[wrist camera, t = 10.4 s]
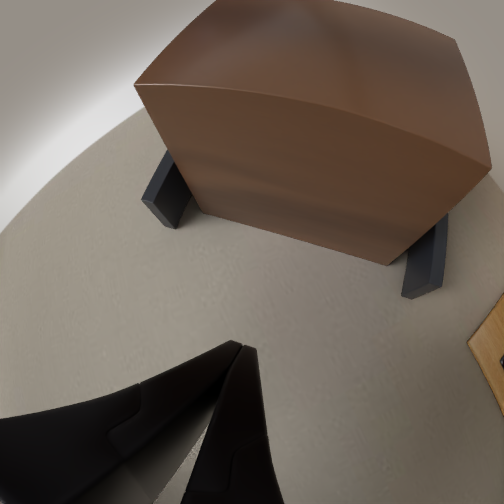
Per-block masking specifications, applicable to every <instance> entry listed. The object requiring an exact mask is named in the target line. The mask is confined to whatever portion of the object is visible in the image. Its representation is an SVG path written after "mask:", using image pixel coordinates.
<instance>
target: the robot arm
mask: <svg viewBox="0 0 504 504" xmlns="http://www.w3.org/2000/svg"><path fill="white" fill-rule="evenodd" d="M209 422H210V423H209ZM208 424H209V426H208V429H207V431H206V434H205V437H204V440H203V443H202V446H201V448H200V451H199V454H198V457H197V460H196V462H195V465H194V468H193V471H192V473H191V476H190V479H189V482H188V484H187V487H186V490H185V491H186V492H185V493H184V495H183V498H182V501H181V503H180V504H284V501H283V498H282V495H281V492H280V488H279V485H278V482H277V479H276V475H275V471H274V467H273V463H272V458H271V452H270V446H269V439H268V435H267V426H266V419H265V411H264V403H263V396H262V388H261V380H260V372H259V364H258V356H257V350H256V348H253V347H250V346H247V345H244V346H243V345H242V344H241V343H238V342H235V341H233V340H229V341H227V342H225V343H223V344H221V345H219V346H217V347H215V348H213V349H211V350H209V351H207V352H205V353H203V354H201V355H199V356H197V357H195V358H193V359H191V360H189V361H187V362H184V363H182V364H180V365H178V366H176V367H174V368H172V369H169V370H167V371H165V372H163V373H161V374H158V375H156V376H154V377H152V378H149V379H147V380H145V381H143V382H141V383H140V384H139V383H137V384H135V385H132V386H130V387H128V388H125V389H122V390H120V391H117V392H115V393H112V394H109V395H106V396H103V397H99V398H96V399H92V400H89V401H85V402H81V403H77V404H73V405H69V406H64V407H60V408H56V409H51V410H46V411H42V412H37V413H32V414H26V415H21V416H15V417H9V418H3V419H0V504H152V503H153V502H154V501H155V499H156V498H157V497H158V495H159V494H160V493H161V491H162V490H163V489H164V487H165V486H166V485H167V483H168V482H169V480H170V479H171V478H172V476H173V475H174V473H175V472H176V471H177V469H178V468H179V466H180V465H181V464H182V462H183V461H184V459H185V458H186V456H187V455H188V454H189V452H190V451H191V449H192V448H193V446H194V445H195V443H196V442H197V440H198V439H199V437H200V436H201V434H202V433H203V431H204V430H205V428H206V427H207V425H208Z"/></svg>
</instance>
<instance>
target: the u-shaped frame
mask: <svg viewBox="0 0 504 504" xmlns="http://www.w3.org/2000/svg"><path fill="white" fill-rule="evenodd" d="M191 194H192V192H191V191H190V189H189V187H188V185H187V183H186V182H185V180H184V178H183V176H182V174H181V173H180V171H179V169H178V167H177V165H176V164H175V162H174V160H173V158H172V156H171V154H170V153H169V151H168V149H167V151H166V153H165V155H164V157H163V158H162V160H161V162H160V164H159V166H158V167H157V169H156V171H155V173H154V175H153V177H152V179H151V181H150V183H149V185H148V187H147V189H146V190H145V192H144V194H143V196H142V199H141V200H142V202H143V203H144V204H145V205H146V206H147V207H148V208H149V209H150V210H151V212H152V213H153V214H154V215H155V216H156V217H157V218H158V219H159V220H160V222H161V223H162V224H163V225H164V226H166V227H169V228H172V229H176V227H177V225H178V223H179V220H180V218H181V216H182V214H183V211H184V209H185V207H186V205H187V202H188V200H189V198H190V196H191ZM447 231H448V213H447V214H446V215H445V216H444V217H443V218H442V219H441V220H439V221H438V222H437V223H436V224H435V225H434V226H433V227H432V228H431V229H429V230H428V231H427V232H426V233H425V234H424V235H423V236H422V237H420V238H419V239H418V240H417V241H416V242H415V243H414V244H412V245H411V246H410V247H409V253H408V259H407V266H406V272H405V277H404V283H403V288H402V293H401V296H402V297H406V298H409V299H414V298H417V297H419V296H421V295H424V294H426V293H429V292H431V291H433V290H436V289H438V288H440V287H442V284H443V276H444V268H445V258H446V246H447Z"/></svg>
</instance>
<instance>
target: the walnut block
mask: <svg viewBox="0 0 504 504" xmlns="http://www.w3.org/2000/svg"><path fill="white" fill-rule="evenodd" d="M134 87H135V89H136V91H137V93H138V95H139V96H140V98H141V100H142V102H143V104H144V106H145V108H146V110H147V112H148V114H149V115H150V117H151V119H152V121H153V123H154V125H155V127H156V129H157V130H158V132H159V134H160V136H161V138H162V140H163V142H164V143H165V145H166V147H167V149H168V151H169V153H170V154H171V156H172V158H173V160H174V162H175V164H176V165H177V167H178V169H179V171H180V173H181V174H182V176H183V178H184V180H185V182H186V183H187V185H188V187H189V189H190V191H191V192H192V194H193V196H194V198H195V200H196V201H197V203H198V205H199V207H200V209H201V210H202V212H203V213H204V214H208V215H212V216H216V217H219V218H223V219H227V220H230V221H234V222H238V223H241V224H245V225H249V226H252V227H256V228H259V229H263V230H267V231H270V232H274V233H277V234H281V235H284V236H288V237H291V238H295V239H298V240H302V241H305V242H309V243H312V244H315V245H319V246H322V247H326V248H329V249H332V250H336V251H339V252H343V253H346V254H349V255H353V256H356V257H359V258H362V259H366V260H369V261H372V262H376V263H379V264H382V265H385V266H387V265H388V264H390V263H391V262H392V261H393V260H395V259H396V258H397V257H398V256H399V255H401V254H402V253H403V252H404V251H405V250H407V249H408V248H409V247H410V246H411V245H412V244H414V243H415V242H416V241H417V240H418V239H419V238H420V237H422V236H423V235H424V234H425V233H426V232H427V231H428V230H429V229H431V228H432V227H433V226H434V225H435V224H436V223H437V222H438V221H439V220H441V219H442V218H443V217H444V216H445V215H446V214H447V213H448V212H449V211H450V210H451V209H452V208H453V207H454V206H455V205H456V204H458V203H459V202H460V201H461V200H462V199H463V198H464V197H465V196H466V195H467V194H468V193H469V192H470V191H471V190H472V189H473V188H474V187H475V186H476V185H477V184H478V183H479V182H480V181H481V180H482V179H483V178H484V176H485V175H486V174H487V173H488V172H489V171H490V170H491V169H492V164H491V158H490V153H489V147H488V142H487V138H486V133H485V129H484V124H483V121H482V116H481V112H480V109H479V105H478V102H477V99H476V95H475V92H474V89H473V86H472V82H471V80H470V77H469V74H468V71H467V68H466V66H465V63H464V60H463V58H462V55H461V53H460V50H459V48H458V46H457V43H456V41H455V39H453V38H451V37H448V36H446V35H444V34H442V33H439V32H437V31H435V30H432V29H430V28H427V27H425V26H422V25H420V24H417V23H414V22H412V21H409V20H406V19H403V18H400V17H397V16H393V15H391V14H387V13H383V12H380V11H377V10H373V9H369V8H365V7H361V6H358V5H353V4H348V3H344V2H338V1H334V0H216V1H215V2H214V3H212V4H211V5H210V6H209V7H208V8H206V10H204V11H203V12H202V13H201V14H200V15H199V16H197V18H195V19H194V20H193V21H192V22H191V23H190V24H189V25H188V26H187V27H186V28H185V29H184V30H183V31H182V32H180V34H179V35H177V37H175V38H174V40H172V41H171V43H170V44H169V45H168V46H167V47H166V48H165V49H164V50H163V51H162V52H161V53H160V54H159V55H158V56H157V57H156V59H155V60H154V61H153V62H152V63H151V64H150V65H149V67H148V68H147V69H146V70H145V71H144V72H143V74H142V75H141V76H140V77H139V78H138V79H137V81H136V82H135V83H134Z"/></svg>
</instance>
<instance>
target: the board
mask: <svg viewBox="0 0 504 504" xmlns="http://www.w3.org/2000/svg"><path fill="white" fill-rule="evenodd" d="M467 344H468V346H469V347H470V349H471V351H472V353H473V355H474V356H475V358H476V360H477V362H478V364H479V366H480V368H481V369H482V371H483V373H484V375H485V377H486V379H487V381H488V383H489V385H490V387H491V389H492V391H493V394H494V396H495V398H496V400H497V402H498V404H499V407H500V409H501V411H502V414H503V416H504V293H503V295H502V296H501V298H500V299H499V300H498V302H497V303H496V305H495V306H494V308H493V309H492V310H491V312H490V313H489V314H488V316H487V317H486V318H485V320H484V321H483V322H482V324H481V325H480V326H479V327H478V329H477V330H476V331H475V333H474V334H473V335H472V336H471V337H470V339H469V340H468V341H467Z"/></svg>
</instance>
